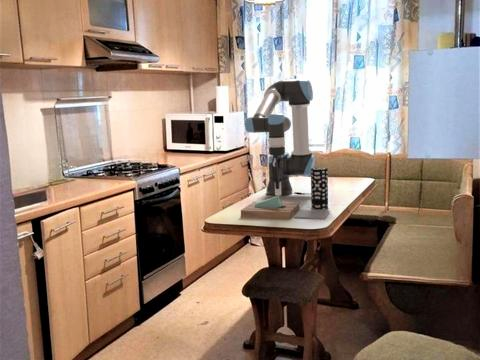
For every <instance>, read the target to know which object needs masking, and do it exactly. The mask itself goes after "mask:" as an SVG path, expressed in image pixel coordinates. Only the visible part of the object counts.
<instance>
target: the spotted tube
mask: <svg viewBox="0 0 480 360" xmlns="http://www.w3.org/2000/svg"><path fill="white" fill-rule="evenodd" d="M328 172H329V170H328V167H324V166H322V167H321V166H319V167H318V166H316V167H314V168H311V175H310V192H311V193H310V196H311V197H310V198H311V199H310V201H311V204H310V205H311V209H313V210H317V209H318V210H317V211H322V210H321V209H323V210H327V209H328V208H329V183H328V182H329V173H328ZM319 209H320V210H319Z"/></svg>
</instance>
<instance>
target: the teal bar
mask: <svg viewBox="0 0 480 360" xmlns="http://www.w3.org/2000/svg"><path fill="white" fill-rule="evenodd" d="M257 202H258V203H256V204H255V207H258V208H278V207H281V206H282V202H283V201H282V200H281V198H280V195H275V196H273V197H270V198H267V199H264V200H261V201H257Z"/></svg>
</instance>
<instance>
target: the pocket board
mask: <svg viewBox="0 0 480 360" xmlns="http://www.w3.org/2000/svg"><path fill="white" fill-rule="evenodd" d="M258 202H259V201H252V202H251V203H249V204H248V205H246V206H245V207H244V208H242V209H240V218H243V219H244V217H245V218H247V219H248V218H249V219H271V220H291V219H292V218H293V217H295V216H296V215H297V214H298V213H299V212H300V211H301V210H300V209H301V208H300V202H283V201H281V202H282V206H281V207H278V208H258V207H255V204H256V203H258Z"/></svg>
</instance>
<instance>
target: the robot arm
mask: <svg viewBox="0 0 480 360" xmlns="http://www.w3.org/2000/svg"><path fill="white" fill-rule="evenodd" d="M313 92H314V91H313V87H312V83H311V81H310V80H309V79H303V78H298V79H287V80H286V79H282V80H278V81H275V82H274V83H273V84H271V85H270V86H269V87H268V88H267V89H266V90H265V92H264V94H263V99H262V101H261V102H260V105H259V106H258V107H257V109H256V111H255V113H254V115H253V116H252V117H246V118H245V121H244V128H245V131H246V132H247V133H254V134H255V133H256V134H257V133H268V139H267V142H268V146H269V147H268V154H269V156H268V184H267V186H266V194H267V195H269V196H287V195H291V194H293V187H292V183H291V182H290V176H302V177H306V176H308V177H309V176H310V177H311V168H315V165H316V156H315V155H313V151H312V150H311V149H310V145H309V144H310V143H309V121H308V119H309V118H308V117H309V116H308V115H309V114H308V107H309V106H310V104H311V101H313V98H314V93H313ZM281 102H288V106H289V107H291V119H292V120H291V119H290V118H289V117H287V116H285V114H283V113H280V112H279V113H273V111H274V110H275V108H276V106H277V105H278V104H280V103H281ZM291 126H292V140H293V144H292V145H293V150H292V151H291V152H290V154H289V152H286V148H285V147H286V146H285V145H286V144H285V143H286V141H285V139H286V137H285V133H286V132H287V131H289V130H290V129H291Z"/></svg>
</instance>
